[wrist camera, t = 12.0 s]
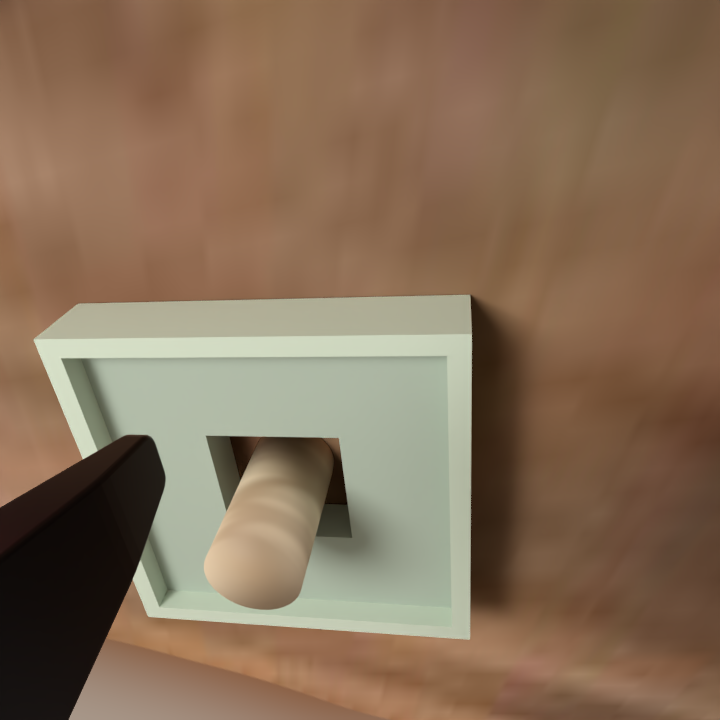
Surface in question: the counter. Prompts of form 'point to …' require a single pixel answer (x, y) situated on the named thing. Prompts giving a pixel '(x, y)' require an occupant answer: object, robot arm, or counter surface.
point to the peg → (271, 523)
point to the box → (291, 419)
